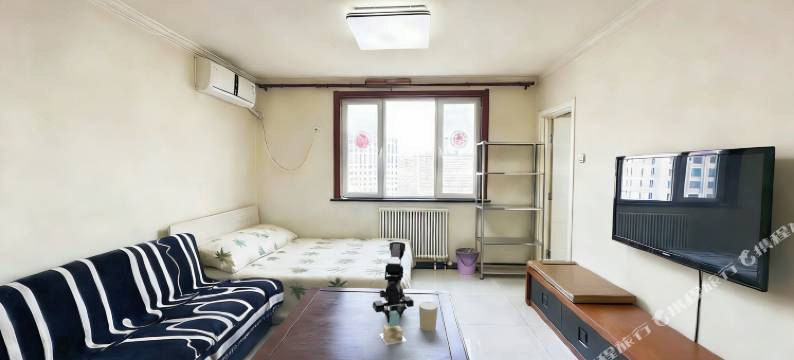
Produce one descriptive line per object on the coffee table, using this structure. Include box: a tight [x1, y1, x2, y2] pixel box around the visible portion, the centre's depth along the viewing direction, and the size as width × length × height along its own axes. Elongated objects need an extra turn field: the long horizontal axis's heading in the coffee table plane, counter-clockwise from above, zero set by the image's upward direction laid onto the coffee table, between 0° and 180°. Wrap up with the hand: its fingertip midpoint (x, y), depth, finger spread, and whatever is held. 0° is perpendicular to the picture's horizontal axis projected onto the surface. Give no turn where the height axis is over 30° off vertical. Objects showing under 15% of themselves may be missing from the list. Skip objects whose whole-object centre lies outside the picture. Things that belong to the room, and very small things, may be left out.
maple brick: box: [382, 324, 404, 343], centre depth 149 cm, size 7×7×4 cm
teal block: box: [386, 311, 400, 327], centre depth 149 cm, size 4×4×5 cm
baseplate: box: [379, 332, 407, 346], centre depth 150 cm, size 10×10×1 cm
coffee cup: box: [418, 301, 439, 333], centre depth 159 cm, size 9×9×12 cm
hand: (393, 321), depth 149 cm, fingers closed on teal block, 4 cm apart
